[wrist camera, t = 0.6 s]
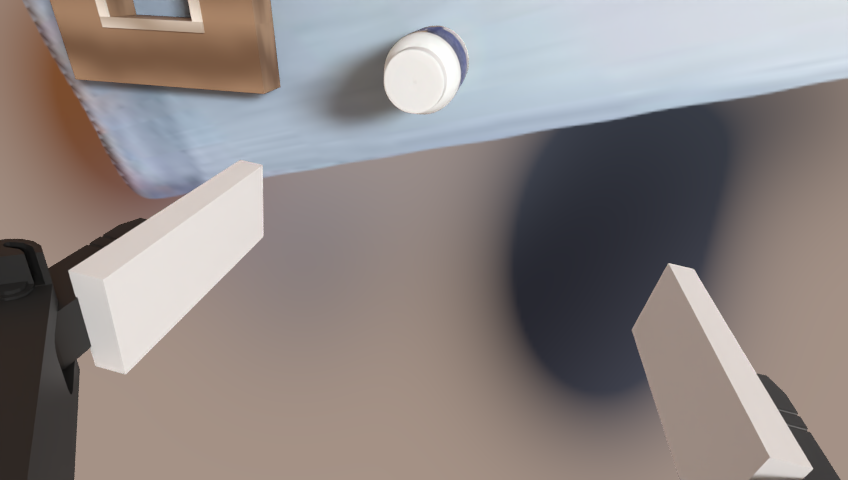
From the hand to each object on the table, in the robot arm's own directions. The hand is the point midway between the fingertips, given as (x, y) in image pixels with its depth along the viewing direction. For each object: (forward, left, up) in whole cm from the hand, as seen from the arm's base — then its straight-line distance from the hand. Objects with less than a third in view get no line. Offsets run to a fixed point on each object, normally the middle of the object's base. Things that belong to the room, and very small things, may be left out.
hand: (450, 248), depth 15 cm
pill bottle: (-2, -5, -27) cm, 27 cm away
